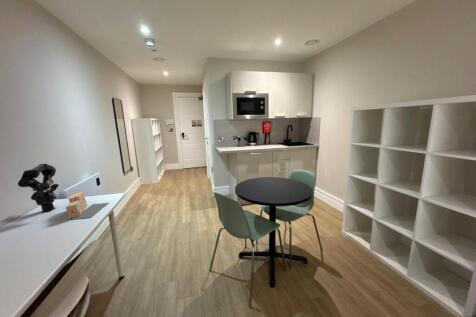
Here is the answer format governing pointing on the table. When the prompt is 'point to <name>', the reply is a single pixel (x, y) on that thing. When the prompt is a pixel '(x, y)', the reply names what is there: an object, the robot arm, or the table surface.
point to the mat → (91, 211)
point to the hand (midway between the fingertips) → (56, 198)
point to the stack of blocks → (76, 205)
